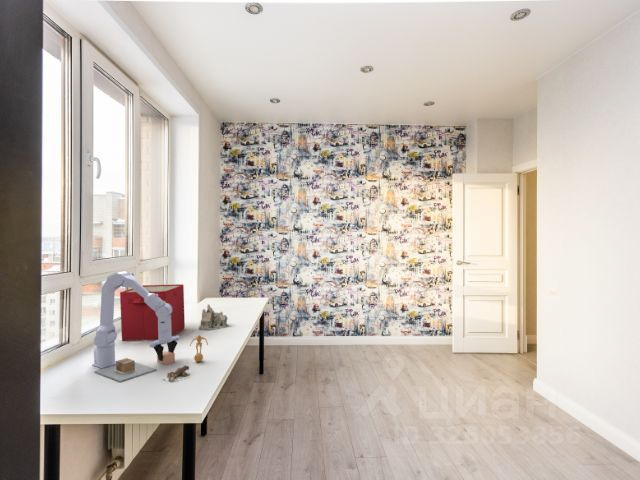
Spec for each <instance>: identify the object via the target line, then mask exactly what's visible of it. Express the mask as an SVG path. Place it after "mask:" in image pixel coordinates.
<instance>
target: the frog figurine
mask: <svg viewBox="0 0 640 480" xmlns="http://www.w3.org/2000/svg"><path fill="white" fill-rule="evenodd" d="M189 370H190V366H189V365H186V364H185V365H183V366H182V367H177V368H176V370H175V372H174V371H170V372H167V373H166V375H165V376H164V377H163V378H162V380H163V381H166V382H167V383H176V382H180V381H181V382H182V381H185V380H187V379H189V378H190V373H188V372H187V371H189ZM183 377H184V379H183Z"/></svg>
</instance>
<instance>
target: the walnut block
mask: <svg viewBox="0 0 640 480" xmlns="http://www.w3.org/2000/svg"><path fill="white" fill-rule="evenodd" d="M115 361H116V364H115V365H116V370H118V371H120V372H123V373H126V372H129V371H132V370H135V360H133V359H131V358H127V357H125V358H121V359H118V360H115Z"/></svg>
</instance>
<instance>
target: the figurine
mask: <svg viewBox="0 0 640 480" xmlns="http://www.w3.org/2000/svg"><path fill="white" fill-rule="evenodd" d="M195 340H196V341H197V342H196V345H195V348H196V354H194V356H193V358H194V361H195V362H197V363H201V362H202V361H203V359H204V355H203V354H202V347H203V346H202V345H203V342H202V340H205V343H206V345H207V346H208V345H209V342H208V340H207V338H206V337H203V336H202V335H197V336H196V337H194V338H193V339H192V341H191V342H190V344H189V347H191V346H192V344H193V342H194V341H195Z"/></svg>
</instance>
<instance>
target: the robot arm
mask: <svg viewBox="0 0 640 480" xmlns="http://www.w3.org/2000/svg"><path fill="white" fill-rule="evenodd" d="M119 288H129V289H133V290H134V291H136V292H137V293H138V294H139V295H141V296H142V297H143V298H144V302H145V303H146V304H147V305H148V306H149V307H151V308H152V309H153V310H154V311H156V315H157V317H158V337H159V340H153V341H152V342H149V348H153V350H154V351H155V353H156V356H157V355H158V359H159V360H160V361H163V352H164V350H165V349H164V346H163V345H165V344H166V345H167V350H168V352H172V353H175V349H176V347H177V345H178V341H180V340H181V335H174V336H172V333H171V313H172V307H171V305H170V304H168V303H166V302H165V301H162V300H161V299H160V298H159V297H158V296H159V295H158V294H154V293H149V292H148V291H147V290H146V289H145V288H144V287H143V285H142V283H140V282H139V281H138V280H137V279H136V277H135V276H134V275H133V274H131V273H130V272H129V271H127V270H123V271H119V272H112V273H111V274H110V275H108V276H107V278H106V280H105V282H104V283H103V285H102V286H101V293H100V294H101V295H100V296H101V297H100V317H99V318H100V319H99V326H98V328H97V330H96V334H95V336H94V338H93V343H94V345H95V347H94V350H93V357H94V358H93V363H92V366H94V367H97V368H100V369H103V368H107V367H110V366H114V365H116V361H117V360H116V345H115V344H116V343H115V340H116V339H117V337H118V334H117V331H116V326H115V325H114V313H115V292H116V290H118V289H119ZM168 315H169V316H168Z"/></svg>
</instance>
